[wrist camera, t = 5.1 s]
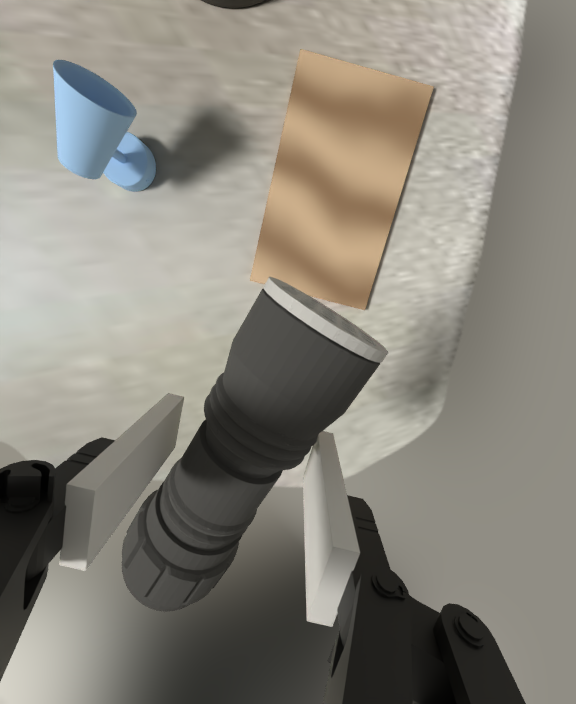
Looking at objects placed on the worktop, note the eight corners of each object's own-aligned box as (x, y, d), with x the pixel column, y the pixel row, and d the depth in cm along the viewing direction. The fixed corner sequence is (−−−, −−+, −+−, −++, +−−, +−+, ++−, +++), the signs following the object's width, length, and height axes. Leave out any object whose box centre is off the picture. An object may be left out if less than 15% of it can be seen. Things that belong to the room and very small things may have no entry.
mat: (300, 52, 27) (300, 48, 26) (431, 89, 27) (433, 86, 27) (250, 280, 31) (249, 280, 31) (363, 309, 32) (364, 310, 31)
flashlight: (224, 544, 19) (194, 651, 14) (145, 503, 18) (81, 597, 13) (371, 334, 15) (408, 369, 10) (275, 275, 14) (260, 278, 9)
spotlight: (135, 110, 28) (93, 172, 29) (50, 19, 18) (-8, 117, 20) (177, 150, 29) (135, 209, 30) (117, 83, 19) (57, 174, 20)
